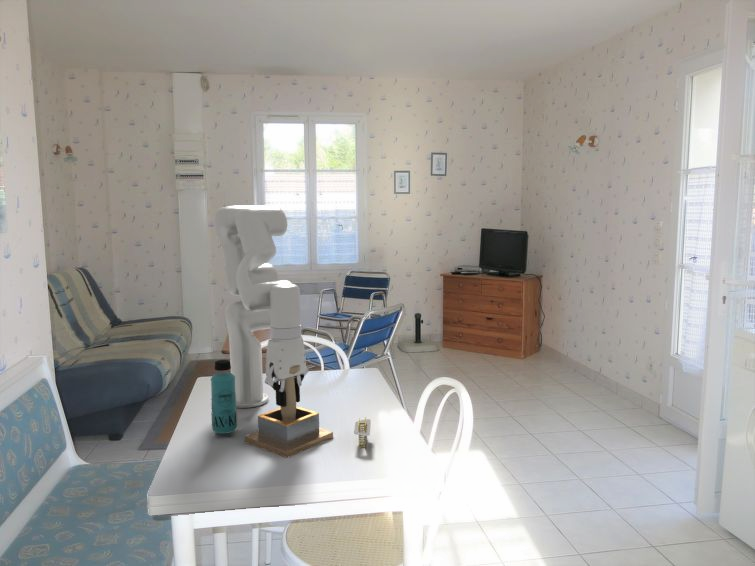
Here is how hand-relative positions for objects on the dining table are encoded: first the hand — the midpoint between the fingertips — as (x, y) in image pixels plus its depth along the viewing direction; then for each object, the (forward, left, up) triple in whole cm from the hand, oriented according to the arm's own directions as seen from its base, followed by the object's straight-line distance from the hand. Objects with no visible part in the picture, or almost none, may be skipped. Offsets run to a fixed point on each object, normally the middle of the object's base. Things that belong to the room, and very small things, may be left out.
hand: (288, 402), depth 154 cm
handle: (0, 0, -5) cm, 5 cm away
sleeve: (0, 0, -10) cm, 10 cm away
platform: (+17, +10, -11) cm, 22 cm away
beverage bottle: (-16, -8, -10) cm, 21 cm away
